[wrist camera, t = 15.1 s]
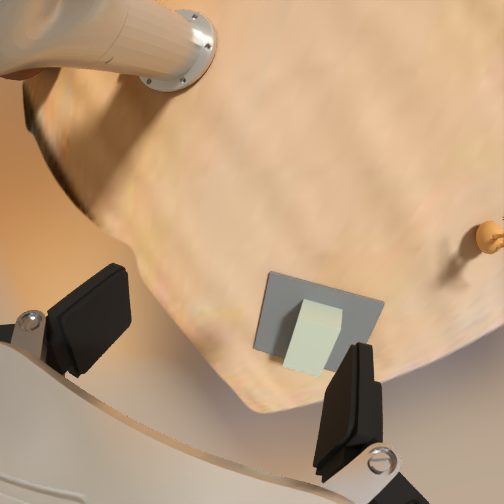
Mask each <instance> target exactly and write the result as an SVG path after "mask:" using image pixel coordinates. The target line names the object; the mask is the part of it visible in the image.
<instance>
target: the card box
mask: <svg viewBox="0 0 504 504" xmlns="http://www.w3.org/2000/svg"><path fill="white" fill-rule="evenodd" d="M341 323H342V309H339V308H335V307H331V306H328V305H324V304H321V303H317V302H313V301H310V300H306V299H304V300H303V303H302V306H301V310H300V313H299V316H298V319H297V323H296V326H295V329H294V332H293V335H292V338H291V342H290V345H289V348H288V351H287V354H286V357H285V360H284V363H283V366H282V367H285V368H289V369H292V370H295V371H299V372H302V373H306V374H310V375H313V376H317V377H320V375H321V373H322V371H323V369H324V366H325V364H326V362H327V360H328V358H329V356H330V353H331V351H332V349H333V347H334V344H335V342H336V340H337V337H338V335H339V333H340V330H341Z"/></svg>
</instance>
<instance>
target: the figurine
mask: <svg viewBox="0 0 504 504" xmlns="http://www.w3.org/2000/svg"><path fill="white" fill-rule="evenodd" d="M503 218H504V217H503ZM503 220H504V219H503ZM476 242H477V245H478V247H479V249H480V250H481V251H482V252H484V253H486V254H493V253H496V252H497V251H498V250H499V249H500V248H502V247H504V233H503V232H502V230H501V228H500V227H499V225H498V224H496V223H495V222H492V221H486V222H484V223H482V224H481V225H480V226H479V227H478V229H477V232H476Z"/></svg>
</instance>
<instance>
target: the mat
mask: <svg viewBox="0 0 504 504" xmlns="http://www.w3.org/2000/svg"><path fill="white" fill-rule="evenodd" d="M304 299H306V300H310V301H313V302H317V303H321V304H324V305H328V306H331V307H335V308H339V309H342V323H341V330H340V333H339V335H338V337H337V340H336V342H335V344H334V347H333V349H332V351H331V353H330V356H329V358H328V360H327V362H326V364H325V366H324V369H326V370H330V371H334V372H336V371H337V369H338V368H339V366H340V364H341V362H342V360H343V359H344V357H345V355H346V353H347V351H348V349H349V347H350V346H351V345H352V344H353V345H356V343H357V342H361V343H365V344H366V343H367V341H368V339H369V337H370V335H371V333H372V331H373V329H374V327H375V324H376V322H377V320H378V318H379V316H380V314H381V311H382V309H383V307H384V302H383V301H379V300H375V299H371V298H368V297H364V296H360V295H356V294H353V293H349V292H345V291H342V290H338V289H334V288H331V287H327V286H323V285H320V284H316V283H312V282H309V281H305V280H301V279H298V278H294V277H291V276H287V275H283V274H280V273H276V272H273V271H271V272H270V275H269V280H268V285H267V289H266V294H265V299H264V304H263V308H262V313H261V318H260V322H259V327H258V332H257V336H256V341H255V346H254V349H256V350H259V351H263V352H266V353H269V354H272V355H276V356H279V357H282V358H285V357H286V354H287V351H288V348H289V345H290V342H291V338H292V335H293V332H294V329H295V326H296V323H297V319H298V316H299V313H300V310H301V306H302V303H303V300H304Z"/></svg>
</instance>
